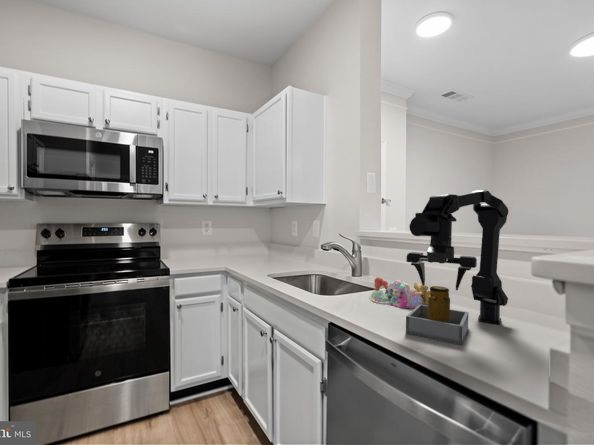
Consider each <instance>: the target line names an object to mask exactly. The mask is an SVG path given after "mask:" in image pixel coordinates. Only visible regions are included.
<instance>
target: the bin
mask: <svg viewBox="0 0 594 445" xmlns="http://www.w3.org/2000/svg"><path fill="white" fill-rule="evenodd" d="M468 329H469V312H468V311H463V310H457V309H451V308H450V323H445V322H439V321H434V320H428V306H427V305H420V304H419V305H418V306H417V307H416V308H413V309H411V311H410V312H409V313H408V314H407V315H406V316H405V334H408V335H412V336H417V337H421V338H427V339H430V340H435V341H440V342H445V343H450V344H453V345H459V346H462V345H463V344H464V340H465V337H466V335H467V333H468Z"/></svg>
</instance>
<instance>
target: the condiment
mask: <svg viewBox="0 0 594 445" xmlns="http://www.w3.org/2000/svg"><path fill="white" fill-rule="evenodd" d="M429 291H430V295H429V296H428V320H434V321H439V322H445V323H450V309H451V297H450V293H449V292H450V290H449V287H445V286H438V285H432V286H431V285H430V288H429Z"/></svg>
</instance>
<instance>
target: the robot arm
mask: <svg viewBox="0 0 594 445" xmlns="http://www.w3.org/2000/svg"><path fill="white" fill-rule="evenodd" d="M481 203H482V204H481ZM471 205H472V207H473V208H472V210H473V211H474V213H476V215H477V222H478V223H479V225H480V227H481V228H482V231H481V232H482V233H481V234H482V236H481V244H480V245H481V248H480V259H479V260H480V261H479V271H478V272H477V273H476V274H475V275H474V274H473V275H472V277H471V284H470V287H471V293H472V297H473V300H474V301H478V302H479V315H478V318H477V322H478V321H479V322H484V323H485V322H486V323H490V324H496V325H501V324H502V318H501V314H500V313H501V312H500V311H501V306H502V307H505V306H507V304H508V301H509V298H508V296H507V294H506V292H504V290H503V281H501V278H500V276H499V274H498V272H497V271H498V261H499V260H498V259H499V247H500V246H499V244H500V235H501V234H500V232H501V229H502V228H503V227H504V226H505V224H506V223H507V221H508V220H507V219H508V215H509V208H508V206H507V204H506V203H504V202H503V200H502V199H501V198H498V197H496V196H494V195H493V194H492V193H491V191H489V190H486V189H483V190H481V189H480V190H473V191H470V192H465V193H459V194H449V193H448V194H437V195H431V196H430V197H429V199H428V201H427V203H426V205H425V206H424V208H423V210H422V212H415V214H414V215H415V216H414V217H413V218H412V219H411V220H410V223H409V231H410V233H411V234H412V235H413V236H415V237H430V240H429V242H430V243H429V246H428V249H427V250H426V254H424V252H417V251H411V252H408V253H407V254H406V262H407V263H410V266H413V267H415V269H416V271H417V273H418V277H419V279H420V282H421V285H422V286H425V285H426V272H425V271H426V270H425V269H426V268H425V262H428V263H437V264H438V263H439V264H454V265H459V267H457V276H456V283H455V291H458V290H459V288H460V285H461V283H462V280H463V278H464V276H465V273H467V271H471V270H472V269H475V268H477V266H478V265H477V264H478V263H477V261H478V259H477V257H476V256H474V255H461V256H460V257H455V246H452V233H453V231H452V230H453V228H452V226H453V222H454V223H455V222H457V218H456V217H454V215H453V214H454V213H456V212H457V211H459V210H460V208H464V207H467V206H471Z"/></svg>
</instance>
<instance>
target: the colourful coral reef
mask: <svg viewBox="0 0 594 445" xmlns="http://www.w3.org/2000/svg"><path fill="white" fill-rule="evenodd" d="M388 284H389V283H388V281H387V280H385V279H384V278H382V277H380V276H379V277H378V276H377V277H376V278H375V279H374V288H375V289H374V290H373V291H372V292H371V294H370V295H369V296H368V299H369V300H370V302H374V303H376V304H379V305H385V306H386V305H387V306H388V305H390V306H393V307H397V308H401V309H411V310H413V309H415V308H416V307H417V306H418V305H419V304H420V305H427V306H428V296H429V295H430V290H429V286H428V285H427V284H425V286H423V285H422V283H420V282H414V284H413V288H412V289H411V287H410V284H408V283H407V282H406V283H405V281H403V280H401V279H400V280H398V279H395V280H394V281H392V282H390V284H389V285H388ZM381 287H383V289H385V290H382V289H381ZM380 289H381V290H380Z"/></svg>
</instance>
